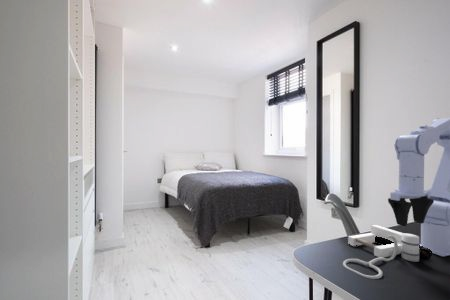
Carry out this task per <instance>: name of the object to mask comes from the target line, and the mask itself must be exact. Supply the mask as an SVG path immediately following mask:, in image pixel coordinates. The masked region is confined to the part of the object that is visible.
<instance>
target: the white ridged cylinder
mask: <svg viewBox="0 0 450 300" xmlns="http://www.w3.org/2000/svg"><path fill="white" fill-rule="evenodd" d="M402 233H403V234H402V239H401V242H402V249H401V258H402V259H404V260H406V261H409V262H414V263H415V262H420V248H419V245H420V244H421V241H420V236H419V235H416V234H413V233H409V232H408V233H404V232H402Z"/></svg>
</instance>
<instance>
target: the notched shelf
mask: <svg viewBox="0 0 450 300" xmlns="http://www.w3.org/2000/svg"><path fill="white" fill-rule="evenodd" d="M403 233H404V232H401V231H397V230H394V229H390V228H387V227H384V226H380V225H378V224H373V225H372V224H371V225H370V232H367V233H361V234H355V235H349V236H347V244H348V245H349V244H350V246H352V247H357V246H363V245H364V246H367V247H368V248H372V249H373V255H374V257H375V256H376V258H379V257H383V258H389V257H391V256H392V254H393V251H394V243H391V244H386V245H383V244H381V245H376V244H374V243H376V242H375V237H376V236H377V237H382V238H385V239H388V240H390V241H392V242H394V241H393V239H392V238H386V237H387V236H389V235H391V236H394V237H395V238H396V240H397V244H398V249H397V253H396V256H397V255H400V254H401V249H402V242H401V239H402V234H403ZM356 245H357V246H356Z"/></svg>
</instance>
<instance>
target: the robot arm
mask: <svg viewBox="0 0 450 300" xmlns="http://www.w3.org/2000/svg"><path fill="white" fill-rule="evenodd" d="M431 123H432V124H431V125H428V124H423V125H419V127H418V128H417V129H416V130H412V131H411V132H410V133H409V134H402V135H400V136H398V137H397V138H395V139H396V140H395V142H394V149H395V152H396V159H397V160H398V189H395V190H394V191H392V192H390V193H389V194H390V196H389V197H388V199H387V202H388V203H389V205H390V207H391V209H392V211H393V214H394V217H395V222H396V224H397V225H398V226H401V227H406V226H407V225H408V220H409V213H410V210H411V209H412V216H413V221H414V223H419V224H420V246H423V247H426V248H428V249H430V250H431V251H432V253H431V254H434V255H438V256H440V257H447V256H450V117H444V118H443V117H442V118H440V117H439V118H435V119H433V120H432V122H431ZM435 143H437V144H436V145H438V146H440V147H442V148H443V151H442V155H441V158H440V160H439V163H438V167H437V169H436V173H435V175H434V179H433V182H432V184H431V187H430V188H429V189H427V190H426V189H425V155H427V154H428V153H429V150H430V148H431V146H432V145H434V144H435ZM407 200H409V201H407Z"/></svg>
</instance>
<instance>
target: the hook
mask: <svg viewBox="0 0 450 300" xmlns="http://www.w3.org/2000/svg"><path fill="white" fill-rule="evenodd" d="M386 238H392V239H393V241H394V251H393V254H392V256H389V257H375V258H373V259H371V260H370V261H364V260H361V259H359V258H348V259H345V260H344V261H343V262H342V266H343V267H344V268H346V269H347V270H349V271H351V272H353V273H355V274H357V275H359V276H362V277H364V278H367V279H372V280H378V279H380V278H382V277H383V270H381V269H380V267H378V266H376V265H374V264H375V263H377V262H380V261H383V262H389V261H391V260H394V259H395V258H396V256H397V255H396V253H397V249H398V244H397V240H396V238H395V237H394V236H391V235H389V236H387V237H386ZM348 263H359V264H361V265H365V266H368V267H369V268H371V269H374V270H375V271H376V272H378V274H376V275H367V274H364V273H361V272H360V271H357V270H355V269H353V268H351V267H349V266H347V264H348Z"/></svg>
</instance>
